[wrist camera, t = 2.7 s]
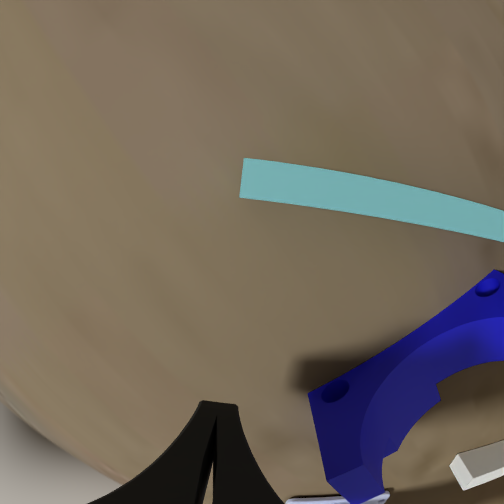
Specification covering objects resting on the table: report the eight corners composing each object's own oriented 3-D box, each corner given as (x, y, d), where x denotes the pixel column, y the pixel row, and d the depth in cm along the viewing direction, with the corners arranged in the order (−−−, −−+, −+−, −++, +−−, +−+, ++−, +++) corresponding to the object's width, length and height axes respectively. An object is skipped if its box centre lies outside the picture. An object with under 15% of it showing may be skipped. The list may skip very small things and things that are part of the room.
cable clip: (340, 437, 16) (363, 516, 10) (307, 391, 15) (326, 480, 9) (504, 327, 15) (564, 373, 9) (492, 268, 14) (567, 306, 8)
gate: (243, 193, 13) (239, 197, 10) (246, 162, 12) (244, 157, 9) (537, 246, 13) (571, 259, 10) (541, 226, 13) (576, 236, 10)
